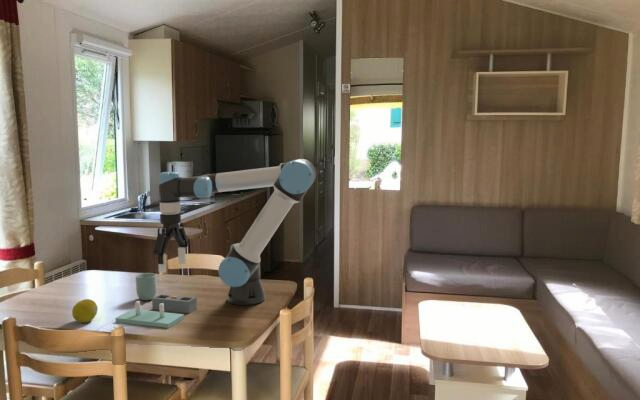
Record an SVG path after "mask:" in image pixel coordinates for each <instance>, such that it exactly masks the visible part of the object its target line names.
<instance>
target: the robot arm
mask: <svg viewBox="0 0 640 400" xmlns="http://www.w3.org/2000/svg"><path fill="white" fill-rule="evenodd" d="M316 170H317V169H316V167H315V166H314V163H312V162H311V161H310V160H308V159H304V158H298V159H293V160H290V161H288V162H282V163H280V164H279V165H277V166H271V167H270V166H269V167H261V168H251V169H244V170H243V169H242V170H236V171H228V172H227V171H226V172H217V173H211V174H210V173H206V174H205V173H204V174H202V175H198V176H195V177H194V176H193V177H183V176H181V177H180V173H179V172H177V171H163V172H160V173H159V174H158V184H157V185H158V196H159V197H158V198H159V213H160V215H159V222H160V224H161V225H162V227H163V228H162V227H158V229H157V235H156V240H155V245H154V249H153V255H154V256H157V265H158V266H157V267H158V273H162V274H165V273H167V260H166V254H165V253H166V250H167V247H168V245H169V242H170V240H171V239H172V238H174V240H175V242H176V243H177V245H178V248H177V252H178V253H177V256H178V258H177V259H178V264H180V265H182V264H183V265H185V264H187V262H186V261H187V259H186V248H187V247H189V243H190V242H189V240H188V237H187V233H186V230H185V228H184V227H185V226H184V222H182V216H181V213H180V212H181V210H182V209H181V198H195V199H196V198H197V199H198V198H199V199H202V198H209V197H211V195H212V194H214V193H223V192H233V191H240V190H241V191H242V190H249V189H250V190H251V189H260V188H261V189H262V188H269V187H273V190H274V191H273V192H272V193H271V195H270V197H269V198H268V200H267V202H266V203H265V205H264V206H263V208H262V209H261V211H260V212H259V213H258V215H257V217H256V218H255V219H254V221H253V223H252V224H251V226H250V227H249V229H248V230H247V232H246V233H245V235H244V236H243V238H242V239H241V241H240V242H237V243H233V244H231V245H230V250H229V252H228V253H227V255H226V257H225V258H223V259H222V260H221V262H220V264H219V266H218V271H217V272H218V276H219V278H220V281H221V282H223V284H225V285H226V286H229V289H228V292H227V302H228V303H229V304H232V305H236V306H250V305H251V306H253V305H257V304H259V303H262V302H264V301H265V300H266V293H265V290H264V287H263V284H262V281H261V259H262V258H261V254H262V253H263V251H264V249H265V248H266V246H267V245H268V243H269V242H270V241H271V239H272V238H273V236H274V235H275V233H276V232H277V230H278V228H279V227H280V225H281V223H282V222H283V220H284V219H285V217H286V215H287V214H288V213H289V211H290V210H291V208H292V207H293V205H294V204H298V203H300V202H301V201H302V199H303V198H304V196H305V195H306V193H307V192H308V190H309V189H310V188H311V186H312V185H314V183H315V182H316V178H317V171H316Z"/></svg>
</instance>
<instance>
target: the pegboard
mask: <svg viewBox="0 0 640 400" xmlns="http://www.w3.org/2000/svg"><path fill="white" fill-rule="evenodd" d="M134 306H135V307H134V308H135V309H134V308H132V309H130V310H128V311H126V312H124V313H122V314H120V315H119V316H117V317H115V323H119V324H120V323H121V324H128V325H129V324H131V325H140V326H147V327H148V326H149V327H155V328H156V327H159V328H166V329H169V328H172V327H173V326H175V325H176V324H177V323H179V322H181V321H183V320H184V319H185V313H177V312H167V311H164V304H163V303H161V304H159V310H158V311H157V310H143V309H141V300H137V301H135V302H134Z"/></svg>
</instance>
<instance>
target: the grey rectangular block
mask: <svg viewBox="0 0 640 400" xmlns="http://www.w3.org/2000/svg"><path fill="white" fill-rule="evenodd" d="M151 303H152V304H151V305H152V311H159V304H161V303H163V304H164V312H170V313H180V314H191V313H192V312H194V311H196V310H197V309H198V302H197V297H196V296H184V295H175V294H165V293H164V294H163V293H160V294H158V295H155V297H154V298H152V299H151Z"/></svg>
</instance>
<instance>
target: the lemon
mask: <svg viewBox="0 0 640 400" xmlns="http://www.w3.org/2000/svg"><path fill="white" fill-rule="evenodd" d="M71 313H72V317H73V319H74V320H75V321H76V322H79V323H81V324H84V323H86V324H87V323H89V322H91V321H92V320H93V319H94V318H95V317H96V316H97V314H98V305H97V303H96V302H95V301H94V300H93V299H90V298H87V299H82V300H80V301H78V302H77V303H76V304H75V305H74V306H73V307H72V310H71Z"/></svg>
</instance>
